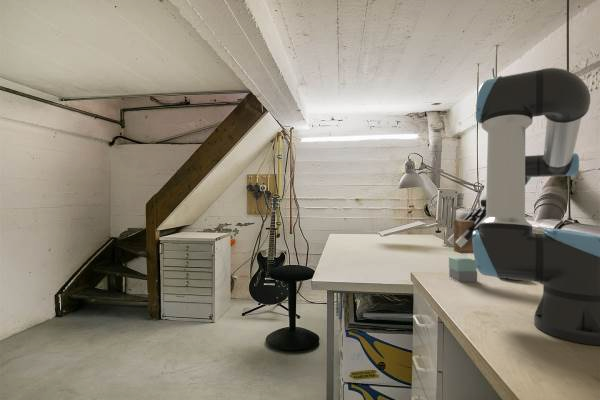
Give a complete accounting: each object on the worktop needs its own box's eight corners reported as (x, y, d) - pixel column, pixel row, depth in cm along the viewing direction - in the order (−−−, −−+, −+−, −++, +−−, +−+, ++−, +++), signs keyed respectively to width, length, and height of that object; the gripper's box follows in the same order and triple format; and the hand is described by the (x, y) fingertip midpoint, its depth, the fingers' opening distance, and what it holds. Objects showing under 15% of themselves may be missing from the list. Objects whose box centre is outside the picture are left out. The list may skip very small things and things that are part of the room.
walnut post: (474, 253, 122) (474, 221, 122) (461, 253, 121) (461, 221, 121) (466, 251, 127) (466, 220, 127) (453, 251, 126) (453, 220, 126)
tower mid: (476, 271, 121) (476, 260, 121) (457, 271, 121) (458, 260, 121) (466, 267, 128) (466, 257, 128) (448, 267, 128) (448, 257, 128)
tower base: (477, 282, 121) (477, 271, 121) (458, 282, 121) (458, 271, 121) (466, 277, 128) (466, 267, 128) (449, 277, 128) (449, 267, 128)
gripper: (519, 208, 116) (475, 254, 115) (486, 206, 134) (448, 247, 133) (505, 193, 116) (460, 239, 115) (474, 193, 134) (435, 234, 133)
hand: (454, 243), depth 124 cm, fingers closed on walnut post, 5 cm apart
